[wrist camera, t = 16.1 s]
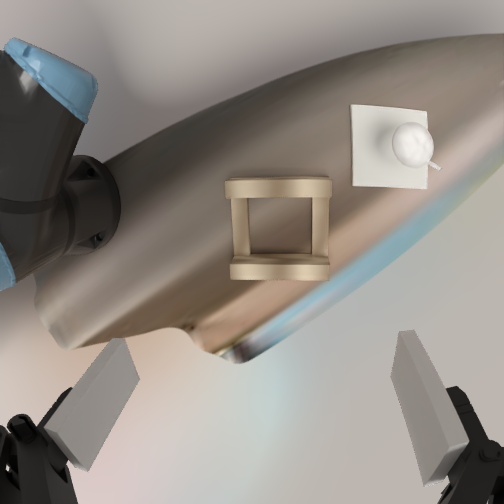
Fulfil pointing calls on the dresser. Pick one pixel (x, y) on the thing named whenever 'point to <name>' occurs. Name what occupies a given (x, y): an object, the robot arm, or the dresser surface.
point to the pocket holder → (279, 264)
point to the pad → (371, 158)
